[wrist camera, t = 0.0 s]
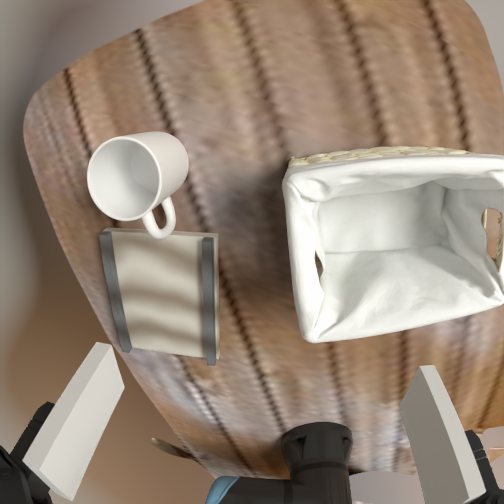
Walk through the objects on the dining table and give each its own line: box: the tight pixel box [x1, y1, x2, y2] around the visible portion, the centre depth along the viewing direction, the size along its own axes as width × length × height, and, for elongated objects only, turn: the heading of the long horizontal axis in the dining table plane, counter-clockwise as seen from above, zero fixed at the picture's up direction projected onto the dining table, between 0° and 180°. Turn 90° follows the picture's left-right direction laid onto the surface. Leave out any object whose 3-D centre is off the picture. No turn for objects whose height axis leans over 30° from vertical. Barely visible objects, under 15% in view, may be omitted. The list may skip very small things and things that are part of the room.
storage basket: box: [282, 146, 504, 343], centre depth 30 cm, size 24×16×15 cm
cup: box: [87, 132, 189, 239], centre depth 32 cm, size 8×12×10 cm
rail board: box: [99, 227, 220, 366], centre depth 43 cm, size 20×16×3 cm
